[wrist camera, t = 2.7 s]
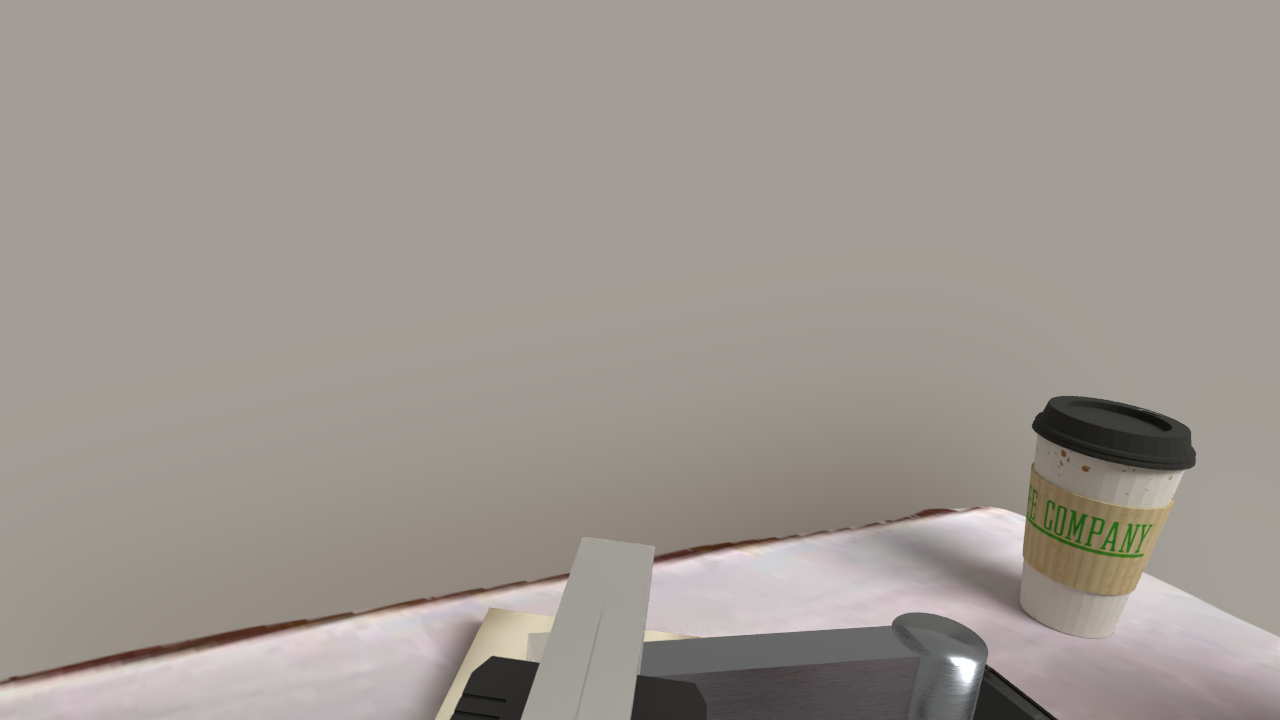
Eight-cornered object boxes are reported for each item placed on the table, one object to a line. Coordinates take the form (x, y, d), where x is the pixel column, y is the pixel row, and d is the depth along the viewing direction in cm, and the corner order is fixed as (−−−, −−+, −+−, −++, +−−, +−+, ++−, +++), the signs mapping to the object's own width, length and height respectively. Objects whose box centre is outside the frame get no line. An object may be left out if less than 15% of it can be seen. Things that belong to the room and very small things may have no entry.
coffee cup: (963, 588, 62) (1006, 395, 58) (1052, 570, 66) (1098, 390, 62) (1081, 666, 53) (1141, 446, 49) (1175, 640, 57) (1236, 436, 54)
